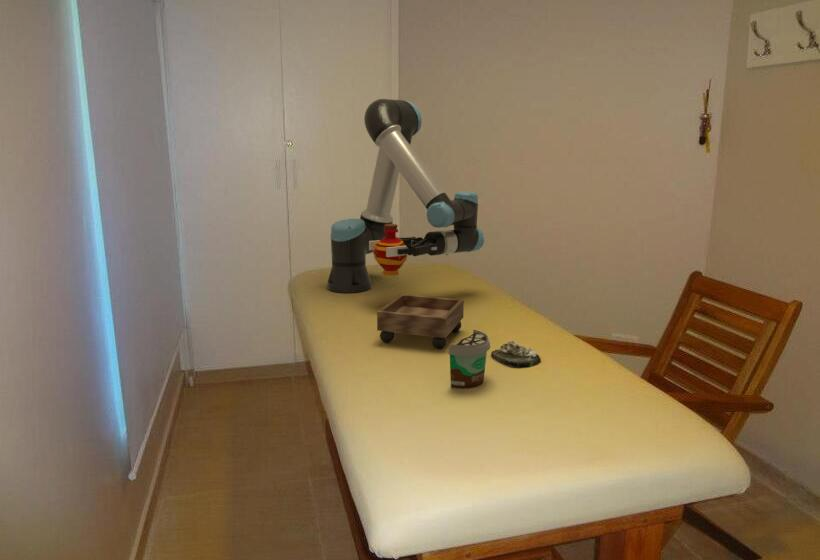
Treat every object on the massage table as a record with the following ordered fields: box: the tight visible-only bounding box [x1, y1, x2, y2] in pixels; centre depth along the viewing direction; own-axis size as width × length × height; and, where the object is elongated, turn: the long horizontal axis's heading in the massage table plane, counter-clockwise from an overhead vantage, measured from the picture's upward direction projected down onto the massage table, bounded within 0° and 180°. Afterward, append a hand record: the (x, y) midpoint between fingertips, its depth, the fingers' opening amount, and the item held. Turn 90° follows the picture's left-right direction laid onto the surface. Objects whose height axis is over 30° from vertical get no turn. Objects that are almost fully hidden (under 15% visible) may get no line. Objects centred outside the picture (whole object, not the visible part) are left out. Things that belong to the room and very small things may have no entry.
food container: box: [447, 329, 491, 390], centre depth 129 cm, size 12×6×10 cm, turn 148°
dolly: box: [376, 293, 465, 350], centre depth 158 cm, size 18×18×9 cm
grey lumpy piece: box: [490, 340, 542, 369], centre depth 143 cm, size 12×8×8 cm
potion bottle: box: [372, 223, 408, 277], centre depth 182 cm, size 10×10×15 cm
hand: (377, 248), depth 179 cm, fingers closed on potion bottle, 10 cm apart
